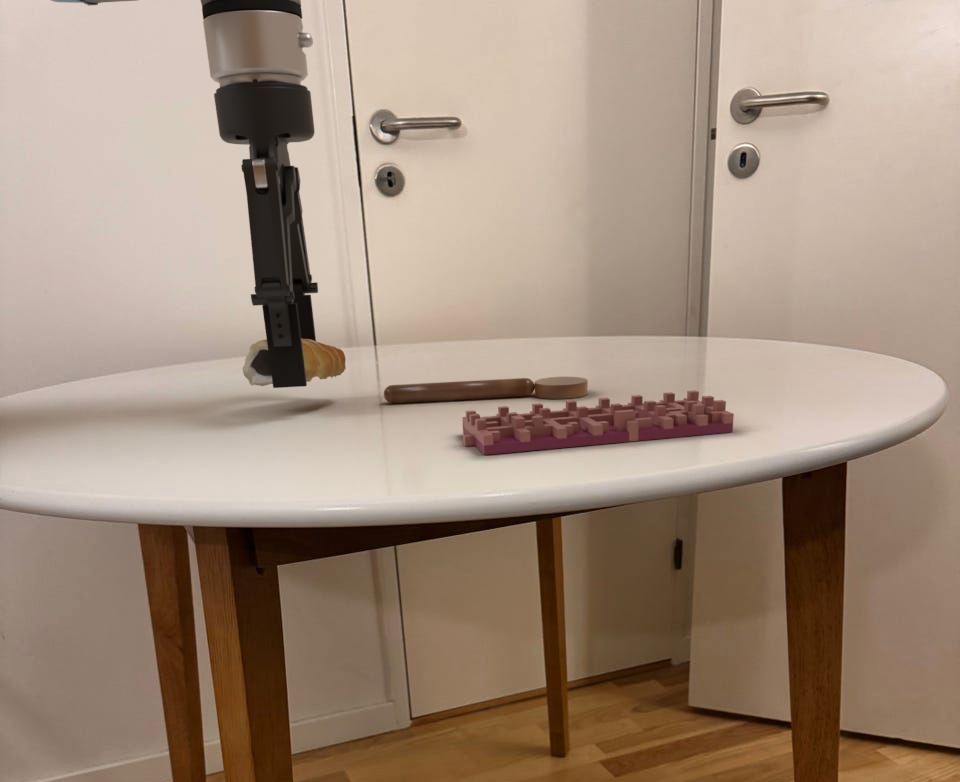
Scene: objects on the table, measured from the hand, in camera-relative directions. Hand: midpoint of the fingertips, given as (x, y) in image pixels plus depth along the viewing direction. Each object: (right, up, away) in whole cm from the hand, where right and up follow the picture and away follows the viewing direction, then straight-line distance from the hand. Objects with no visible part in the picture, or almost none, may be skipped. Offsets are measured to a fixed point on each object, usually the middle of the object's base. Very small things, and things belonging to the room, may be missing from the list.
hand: (297, 377), depth 83 cm
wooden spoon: (+17, -1, +2) cm, 17 cm away
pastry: (0, 0, 0) cm, 0 cm away
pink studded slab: (+24, -8, -14) cm, 29 cm away
